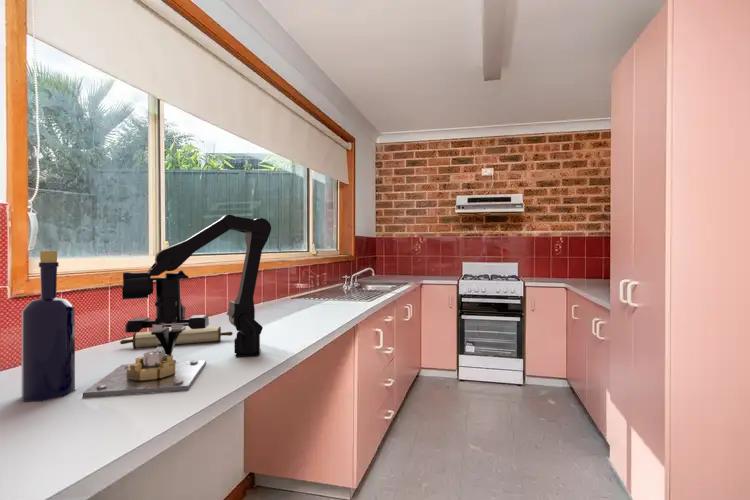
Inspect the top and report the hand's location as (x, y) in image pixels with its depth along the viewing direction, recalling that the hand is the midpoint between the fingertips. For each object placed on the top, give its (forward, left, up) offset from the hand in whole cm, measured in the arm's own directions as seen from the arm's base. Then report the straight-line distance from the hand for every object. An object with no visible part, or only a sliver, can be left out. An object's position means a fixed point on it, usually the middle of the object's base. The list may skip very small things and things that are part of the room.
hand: (169, 356), depth 104 cm
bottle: (+19, +17, -3) cm, 25 cm away
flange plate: (+1, +11, -2) cm, 11 cm away
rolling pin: (+3, -24, -3) cm, 24 cm away
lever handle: (+2, +5, -1) cm, 5 cm away
